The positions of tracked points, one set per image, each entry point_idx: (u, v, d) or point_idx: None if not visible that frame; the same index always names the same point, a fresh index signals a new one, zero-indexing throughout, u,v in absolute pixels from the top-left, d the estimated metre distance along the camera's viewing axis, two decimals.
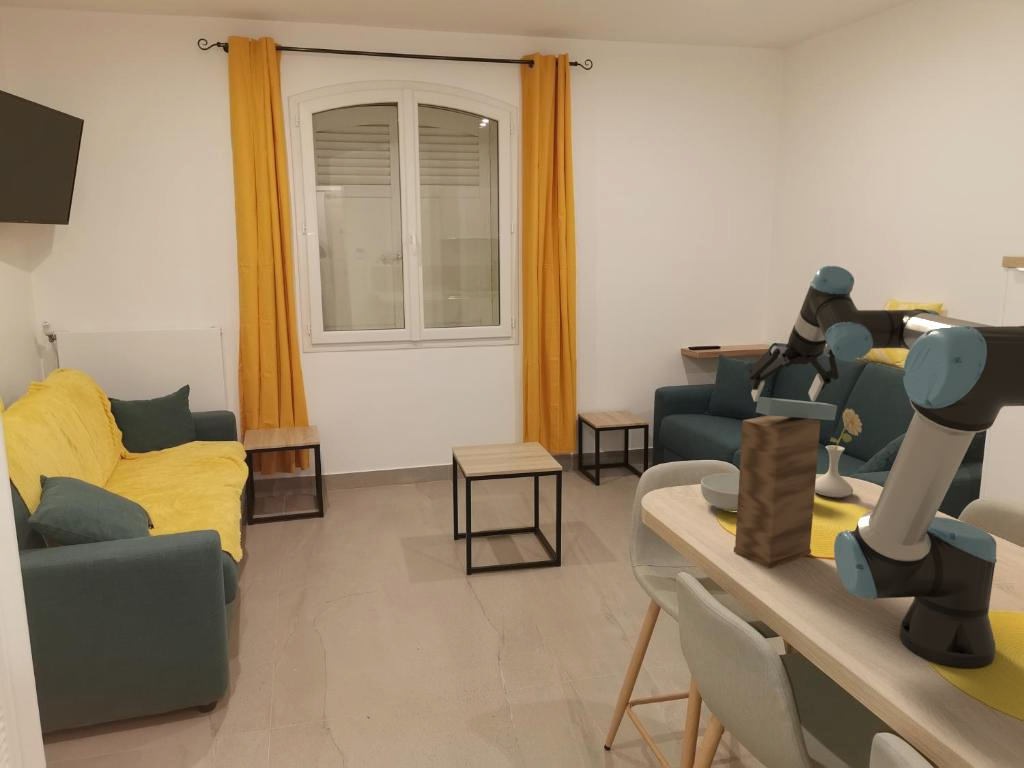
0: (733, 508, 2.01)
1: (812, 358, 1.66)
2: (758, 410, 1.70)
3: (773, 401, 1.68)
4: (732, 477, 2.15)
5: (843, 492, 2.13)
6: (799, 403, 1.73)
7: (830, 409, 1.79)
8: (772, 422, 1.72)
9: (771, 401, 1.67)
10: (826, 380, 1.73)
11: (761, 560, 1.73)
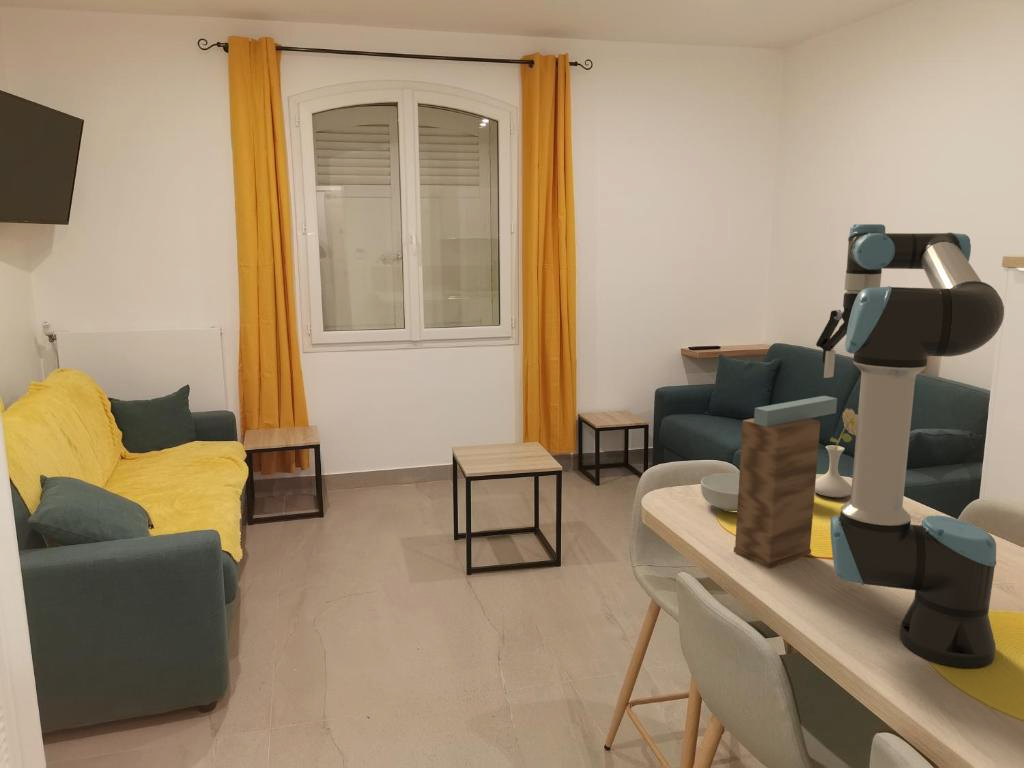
0: (733, 508, 2.01)
1: None
2: (756, 421, 1.70)
3: (770, 412, 1.68)
4: (732, 477, 2.15)
5: (843, 492, 2.13)
6: (797, 406, 1.72)
7: (830, 404, 1.78)
8: None
9: (767, 412, 1.67)
10: None
11: (761, 560, 1.73)
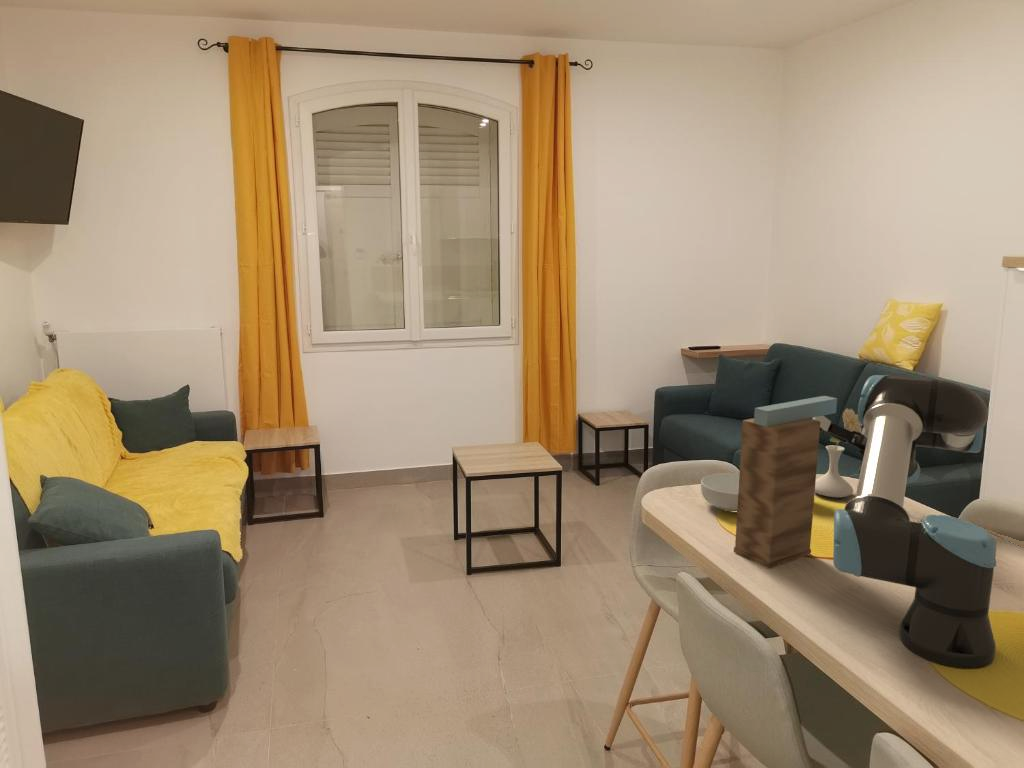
0: (733, 508, 2.01)
1: None
2: (756, 421, 1.70)
3: (770, 412, 1.68)
4: (732, 477, 2.15)
5: (843, 492, 2.13)
6: (797, 406, 1.72)
7: (830, 404, 1.78)
8: None
9: (767, 412, 1.67)
10: None
11: (761, 560, 1.73)
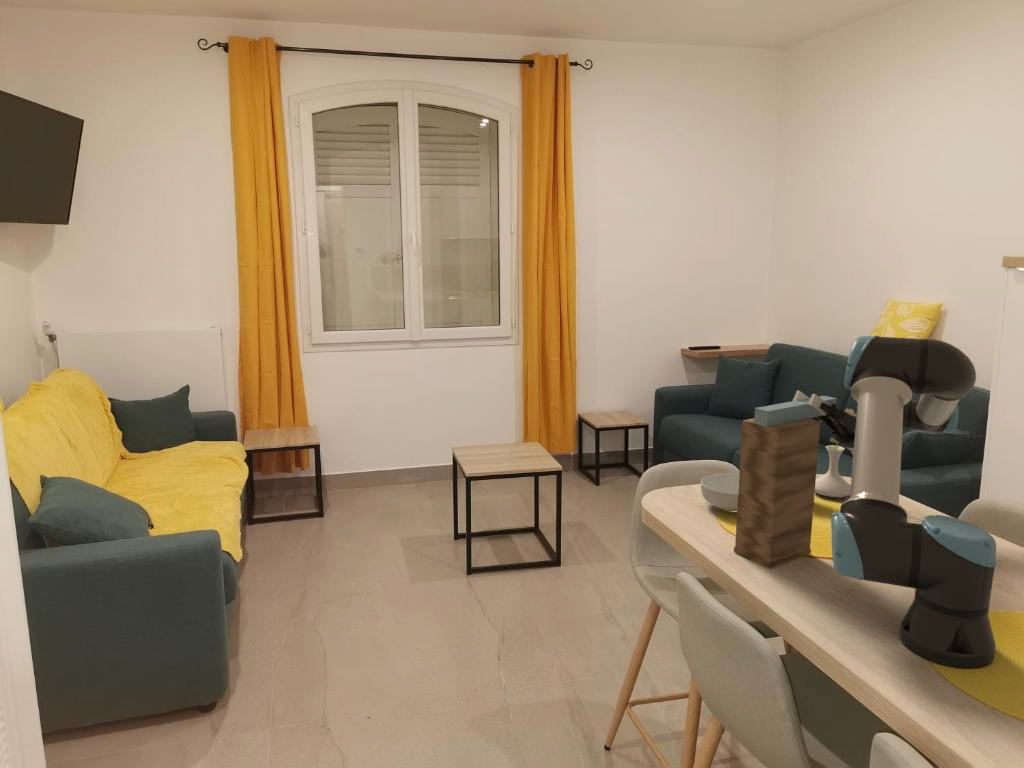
0: (733, 508, 2.01)
1: None
2: (757, 421, 1.70)
3: (770, 412, 1.68)
4: (732, 477, 2.15)
5: (843, 492, 2.13)
6: (797, 406, 1.72)
7: (829, 404, 1.79)
8: None
9: (768, 412, 1.67)
10: None
11: (761, 560, 1.73)
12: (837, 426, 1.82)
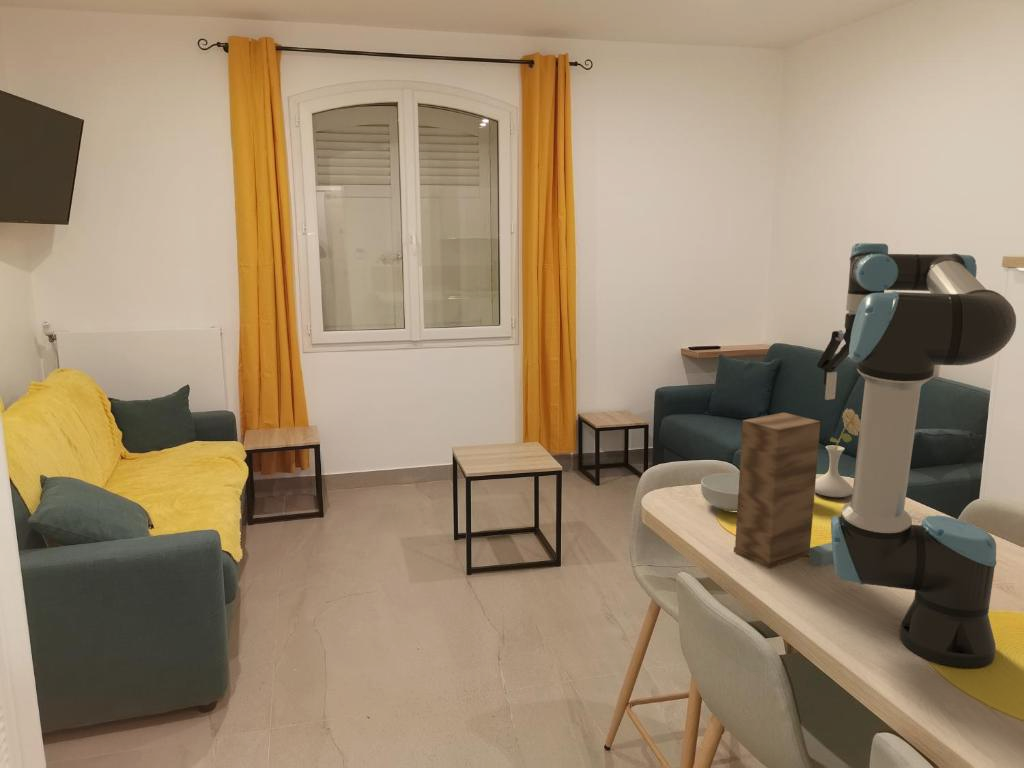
0: (733, 508, 2.01)
1: None
2: (811, 561, 1.75)
3: (824, 554, 1.72)
4: (732, 477, 2.15)
5: (843, 492, 2.13)
6: None
7: None
8: (772, 422, 1.72)
9: (822, 554, 1.72)
10: None
11: (761, 560, 1.73)
12: None
